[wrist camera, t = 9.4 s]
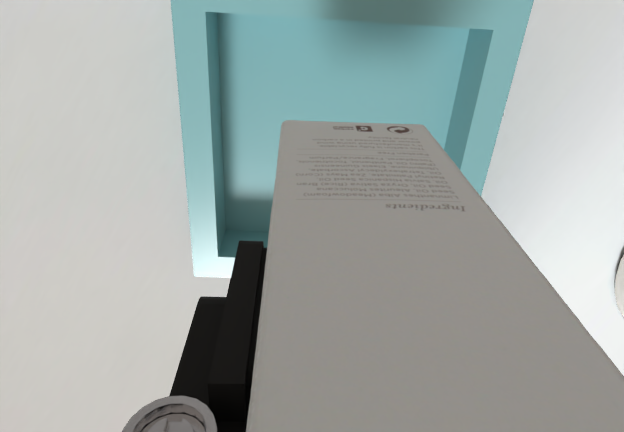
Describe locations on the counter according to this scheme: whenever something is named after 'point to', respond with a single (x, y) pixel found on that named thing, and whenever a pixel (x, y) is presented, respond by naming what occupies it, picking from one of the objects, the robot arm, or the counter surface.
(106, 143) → the counter surface
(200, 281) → the counter surface
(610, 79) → the counter surface
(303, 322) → the skincare box
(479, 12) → the tray
